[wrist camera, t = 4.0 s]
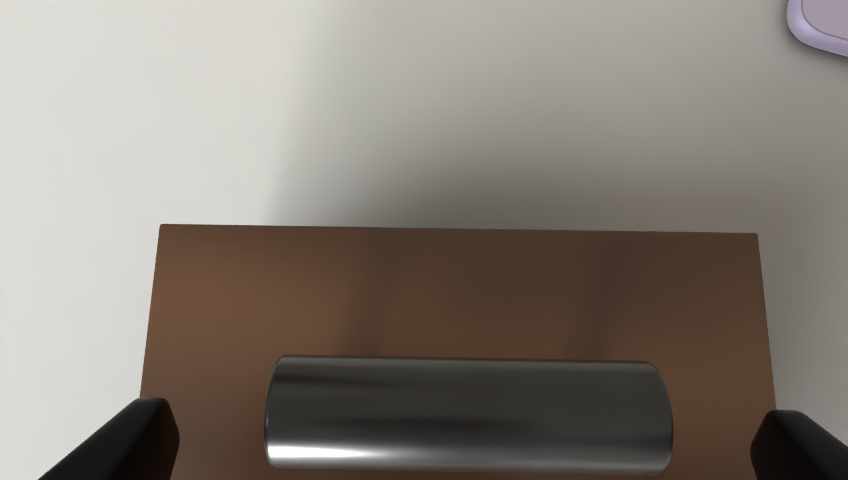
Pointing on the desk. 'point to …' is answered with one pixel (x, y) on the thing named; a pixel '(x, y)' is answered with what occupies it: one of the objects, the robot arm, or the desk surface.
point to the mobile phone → (820, 24)
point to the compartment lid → (458, 353)
